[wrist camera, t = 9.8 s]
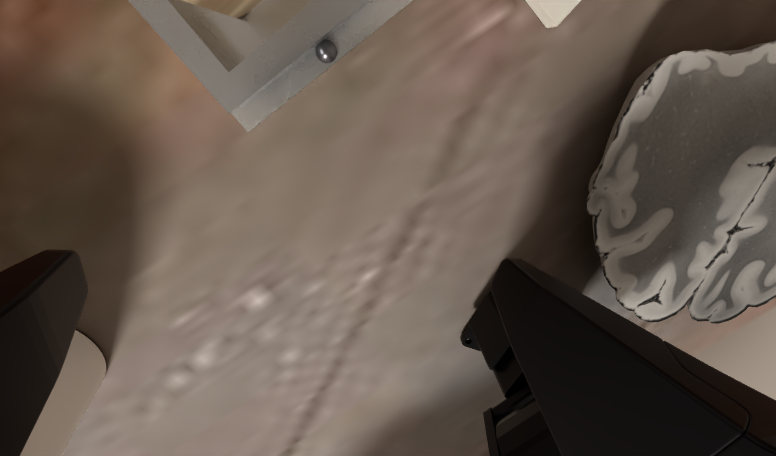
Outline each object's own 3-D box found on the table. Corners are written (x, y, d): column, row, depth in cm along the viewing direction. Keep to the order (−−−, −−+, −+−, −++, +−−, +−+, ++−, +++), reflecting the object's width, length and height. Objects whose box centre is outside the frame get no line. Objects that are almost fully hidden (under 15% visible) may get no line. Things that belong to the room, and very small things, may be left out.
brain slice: (520, 288, 25) (540, 315, 23) (620, 7, 18) (666, -2, 16) (756, 305, 28) (799, 331, 26) (919, 68, 21) (1002, 70, 19)
